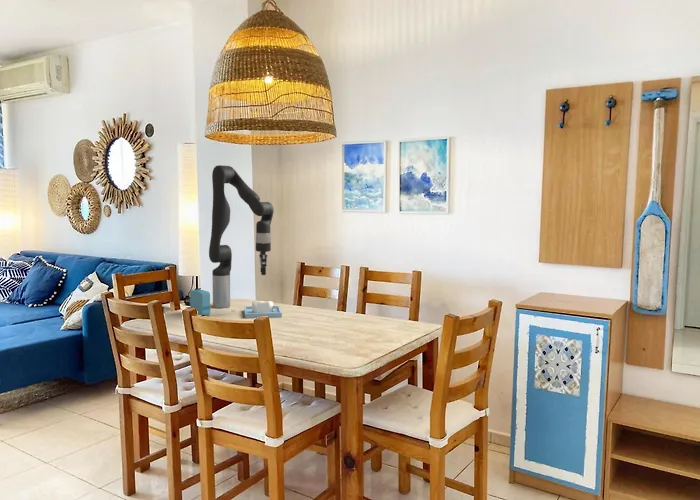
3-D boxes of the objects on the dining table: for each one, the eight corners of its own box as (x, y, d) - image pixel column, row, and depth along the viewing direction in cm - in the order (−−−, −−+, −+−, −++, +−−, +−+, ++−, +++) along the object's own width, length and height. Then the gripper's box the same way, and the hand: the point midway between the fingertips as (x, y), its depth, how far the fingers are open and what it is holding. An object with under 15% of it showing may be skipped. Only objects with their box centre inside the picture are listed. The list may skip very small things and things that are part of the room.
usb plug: (252, 313, 273) (252, 303, 273) (252, 311, 278) (252, 301, 277) (277, 312, 276) (277, 302, 276) (277, 310, 280) (277, 301, 280)
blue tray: (244, 310, 284) (244, 306, 283) (279, 309, 287) (279, 305, 287) (245, 318, 266) (245, 313, 266) (281, 317, 270) (281, 312, 269)
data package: (210, 315, 271) (210, 292, 269) (202, 317, 267) (202, 293, 266) (198, 311, 279) (197, 288, 278) (190, 313, 276) (189, 289, 275)
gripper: (255, 240, 279) (255, 271, 281) (256, 243, 265) (256, 275, 267) (269, 240, 281) (269, 271, 282) (271, 243, 267) (271, 275, 269)
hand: (263, 273), depth 275 cm, fingers open, 8 cm apart
